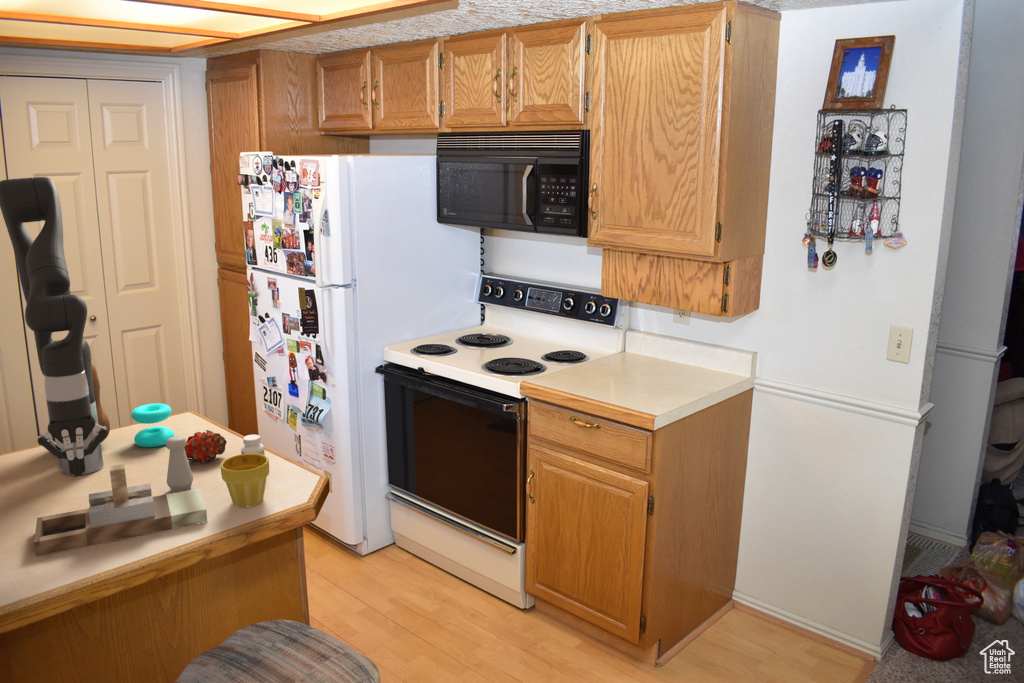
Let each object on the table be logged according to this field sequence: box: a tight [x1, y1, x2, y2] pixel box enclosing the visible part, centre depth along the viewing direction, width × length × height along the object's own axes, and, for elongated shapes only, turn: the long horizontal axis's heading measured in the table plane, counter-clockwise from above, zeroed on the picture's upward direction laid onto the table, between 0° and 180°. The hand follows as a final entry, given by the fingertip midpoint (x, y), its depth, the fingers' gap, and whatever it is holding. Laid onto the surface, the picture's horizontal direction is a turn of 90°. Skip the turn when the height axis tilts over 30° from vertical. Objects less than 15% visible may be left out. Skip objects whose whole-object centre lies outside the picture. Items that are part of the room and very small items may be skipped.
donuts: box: [130, 403, 175, 448], centre depth 214 cm, size 10×10×10 cm
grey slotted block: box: [88, 483, 155, 529], centre depth 166 cm, size 12×10×4 cm
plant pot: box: [220, 453, 270, 508], centre depth 179 cm, size 10×10×10 cm
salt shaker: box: [165, 435, 194, 493], centre depth 184 cm, size 6×6×13 cm
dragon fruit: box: [184, 429, 228, 464], centre depth 203 cm, size 8×8×12 cm
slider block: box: [105, 463, 137, 504], centre depth 166 cm, size 6×6×10 cm
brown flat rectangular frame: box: [33, 488, 208, 557], centre depth 167 cm, size 32×12×3 cm, turn 118°
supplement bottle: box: [240, 434, 266, 456], centre depth 194 cm, size 5×5×10 cm
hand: (78, 474), depth 161 cm, fingers closed
